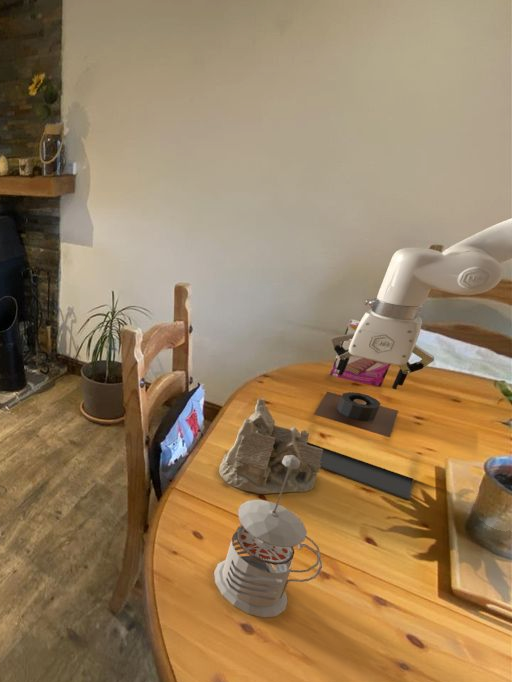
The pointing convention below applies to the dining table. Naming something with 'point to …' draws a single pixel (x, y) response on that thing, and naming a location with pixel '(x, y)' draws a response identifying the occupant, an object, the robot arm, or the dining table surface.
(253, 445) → the ceramic cottage
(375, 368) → the candy bar box
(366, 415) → the tape roll
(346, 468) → the felt mat
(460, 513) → the dining table surface
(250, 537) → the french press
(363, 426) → the tape stand
